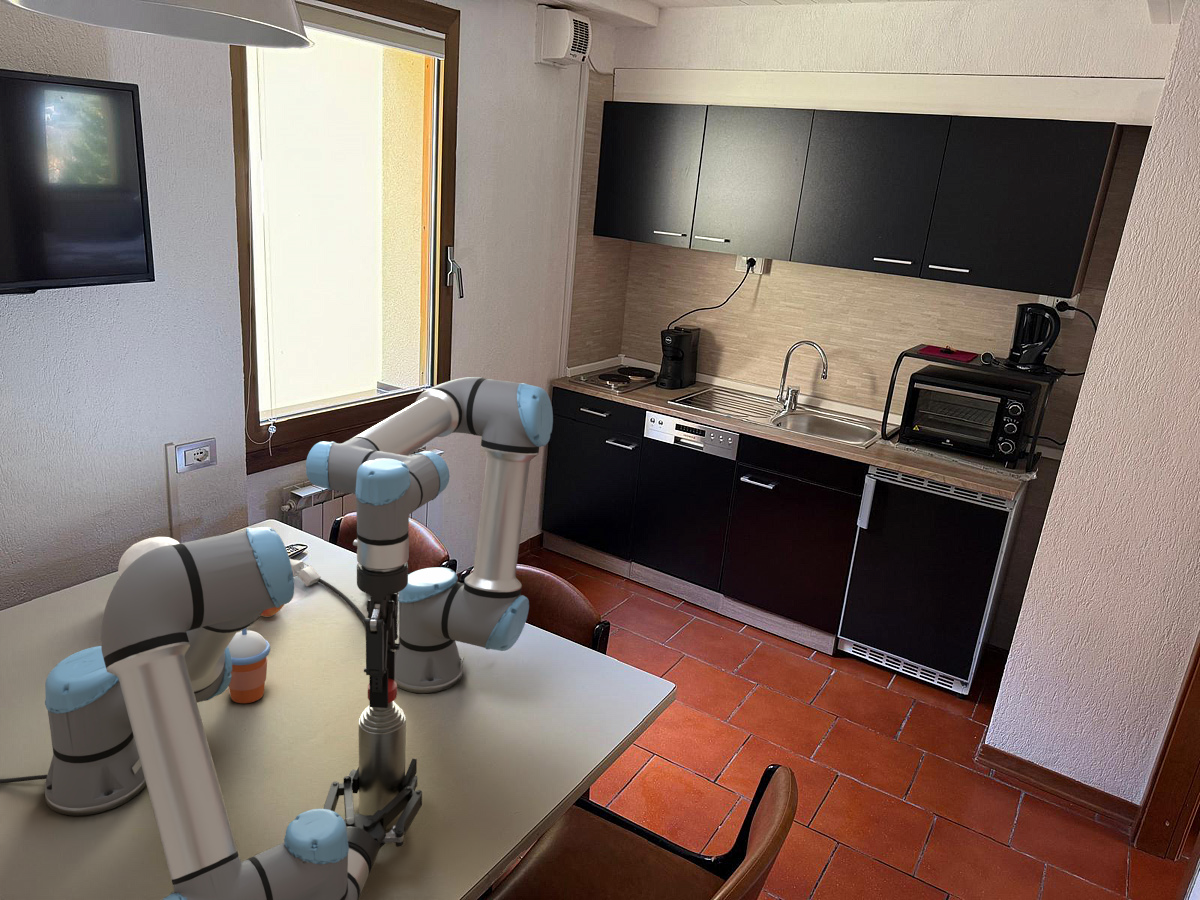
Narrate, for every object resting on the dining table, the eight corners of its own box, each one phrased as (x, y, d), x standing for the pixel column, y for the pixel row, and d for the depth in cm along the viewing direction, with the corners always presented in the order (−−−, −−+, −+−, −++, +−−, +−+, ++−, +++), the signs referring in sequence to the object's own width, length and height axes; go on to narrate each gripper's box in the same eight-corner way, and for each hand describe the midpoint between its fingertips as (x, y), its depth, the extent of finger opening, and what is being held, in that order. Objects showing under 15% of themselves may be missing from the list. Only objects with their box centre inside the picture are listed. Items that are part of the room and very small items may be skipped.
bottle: (369, 836, 137) (368, 708, 130) (352, 809, 142) (351, 684, 135) (411, 820, 141) (413, 695, 134) (394, 794, 147) (395, 672, 140)
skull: (184, 624, 193) (181, 559, 189) (106, 604, 199) (101, 541, 195) (225, 601, 206) (223, 539, 202) (150, 583, 211) (147, 523, 207)
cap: (384, 708, 132) (384, 697, 132) (361, 699, 134) (361, 688, 133) (402, 693, 136) (402, 683, 136) (379, 685, 138) (380, 674, 137)
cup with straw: (255, 711, 165) (250, 629, 160) (212, 703, 167) (207, 621, 161) (281, 686, 174) (278, 607, 168) (240, 678, 175) (236, 599, 170)
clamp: (253, 565, 223) (254, 542, 221) (265, 560, 226) (266, 537, 224) (309, 593, 215) (310, 569, 213) (320, 588, 218) (321, 564, 216)
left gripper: (276, 878, 124) (332, 775, 146) (413, 893, 123) (449, 787, 145) (274, 836, 122) (331, 738, 144) (414, 851, 121) (450, 750, 143)
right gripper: (370, 537, 136) (370, 666, 143) (342, 586, 120) (344, 729, 127) (417, 540, 137) (415, 668, 144) (396, 589, 120) (395, 731, 127)
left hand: (390, 763), depth 145 cm, fingers closed on bottle, 7 cm apart
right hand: (382, 696), depth 135 cm, fingers closed on cap, 4 cm apart
